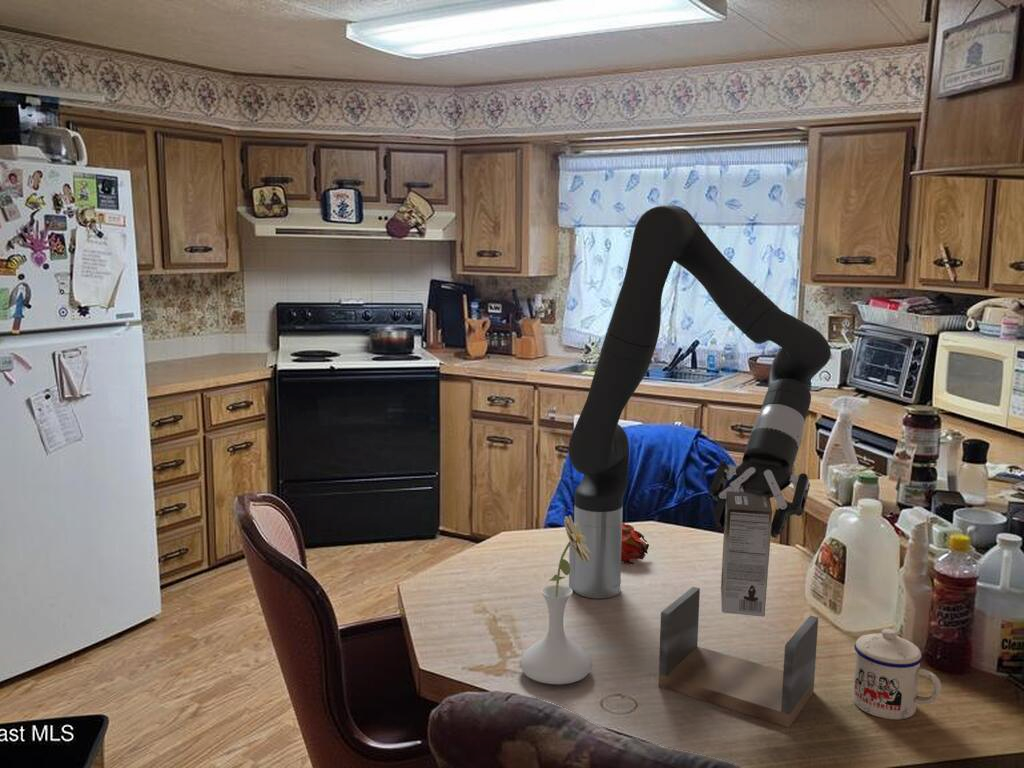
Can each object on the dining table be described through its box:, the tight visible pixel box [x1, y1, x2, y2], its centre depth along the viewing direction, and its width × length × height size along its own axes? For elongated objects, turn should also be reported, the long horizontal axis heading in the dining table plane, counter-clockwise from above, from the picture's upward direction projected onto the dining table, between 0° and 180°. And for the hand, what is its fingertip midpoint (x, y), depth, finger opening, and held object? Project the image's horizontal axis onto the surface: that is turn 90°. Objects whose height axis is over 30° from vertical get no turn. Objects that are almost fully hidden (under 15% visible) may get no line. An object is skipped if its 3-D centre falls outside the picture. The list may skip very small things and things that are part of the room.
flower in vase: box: [519, 514, 593, 685], centre depth 135 cm, size 13×11×25 cm
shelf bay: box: [658, 586, 819, 728], centre depth 131 cm, size 20×12×12 cm, turn 55°
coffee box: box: [720, 491, 773, 618], centre depth 129 cm, size 9×6×16 cm
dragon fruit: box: [621, 522, 650, 565], centre depth 185 cm, size 8×8×12 cm
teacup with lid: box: [852, 628, 942, 720], centre depth 126 cm, size 12×9×12 cm
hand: (745, 529), depth 129 cm, fingers closed on coffee box, 8 cm apart
